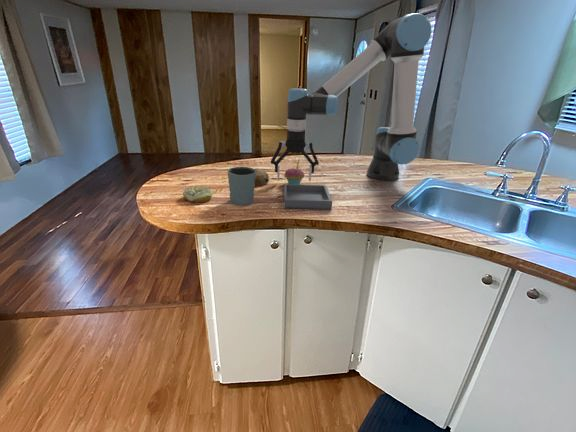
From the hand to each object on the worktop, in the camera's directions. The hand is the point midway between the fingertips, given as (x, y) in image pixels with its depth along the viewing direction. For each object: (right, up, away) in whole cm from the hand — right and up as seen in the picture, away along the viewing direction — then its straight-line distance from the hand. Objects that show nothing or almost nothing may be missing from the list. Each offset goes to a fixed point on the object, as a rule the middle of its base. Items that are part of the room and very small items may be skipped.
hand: (294, 180), depth 133 cm
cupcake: (0, -2, +1) cm, 2 cm away
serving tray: (+4, -10, -15) cm, 19 cm away
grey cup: (-20, -10, -18) cm, 28 cm away
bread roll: (-16, -1, +2) cm, 17 cm away
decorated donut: (-37, -9, -17) cm, 41 cm away
